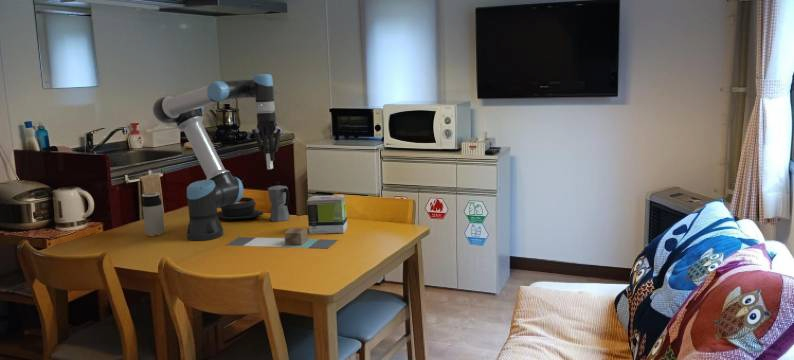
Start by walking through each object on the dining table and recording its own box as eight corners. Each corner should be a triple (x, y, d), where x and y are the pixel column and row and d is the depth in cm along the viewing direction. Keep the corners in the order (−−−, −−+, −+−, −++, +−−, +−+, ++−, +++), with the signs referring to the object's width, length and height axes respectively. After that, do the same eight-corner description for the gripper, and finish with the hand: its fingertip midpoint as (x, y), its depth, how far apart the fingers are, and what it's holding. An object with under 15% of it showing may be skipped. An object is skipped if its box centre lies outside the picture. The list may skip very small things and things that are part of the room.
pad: (280, 248, 261) (280, 246, 261) (291, 239, 272) (291, 238, 272) (308, 249, 258) (308, 247, 258) (319, 240, 270) (319, 239, 270)
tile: (243, 247, 265) (242, 245, 265) (256, 239, 276) (256, 237, 276) (280, 248, 261) (280, 246, 261) (291, 239, 272) (291, 238, 272)
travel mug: (149, 237, 284) (145, 196, 281) (142, 234, 290) (138, 194, 287) (167, 233, 289) (163, 193, 286) (160, 230, 295) (156, 191, 292)
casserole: (272, 214, 318) (270, 197, 316) (248, 224, 301) (247, 206, 300) (230, 211, 328) (228, 195, 326) (205, 220, 311) (203, 203, 310)
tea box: (347, 227, 287) (345, 194, 285) (343, 233, 277) (341, 199, 275) (313, 228, 289) (311, 195, 286) (308, 234, 279) (306, 200, 276)
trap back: (224, 246, 267) (224, 245, 267) (238, 238, 278) (238, 237, 278) (243, 247, 265) (242, 245, 265) (256, 239, 276) (256, 237, 276)
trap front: (308, 249, 258) (308, 247, 258) (319, 240, 270) (319, 239, 270) (328, 249, 256) (327, 248, 256) (337, 241, 268) (337, 239, 268)
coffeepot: (263, 219, 309) (260, 181, 305) (280, 215, 315) (277, 178, 312) (282, 224, 298) (279, 185, 294) (299, 220, 304) (296, 182, 301)
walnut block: (285, 245, 263) (284, 232, 262) (291, 240, 270) (291, 228, 269) (301, 245, 261) (300, 233, 261) (308, 240, 268) (307, 228, 267)
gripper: (247, 113, 269) (251, 170, 273) (276, 112, 266) (281, 170, 270) (255, 111, 276) (259, 167, 280) (284, 110, 273) (288, 167, 277)
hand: (270, 168), depth 275 cm, fingers closed
